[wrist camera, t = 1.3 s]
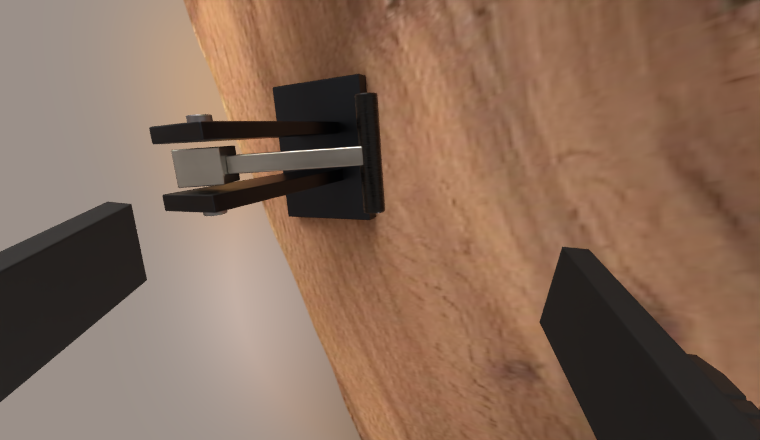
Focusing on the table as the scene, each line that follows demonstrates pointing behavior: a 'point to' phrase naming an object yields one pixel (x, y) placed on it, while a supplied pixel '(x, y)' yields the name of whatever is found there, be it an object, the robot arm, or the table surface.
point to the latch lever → (294, 159)
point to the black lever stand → (295, 132)
